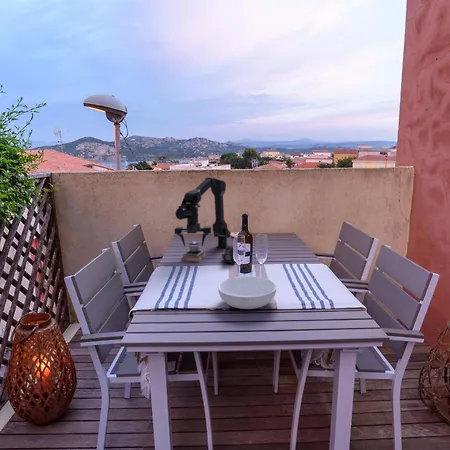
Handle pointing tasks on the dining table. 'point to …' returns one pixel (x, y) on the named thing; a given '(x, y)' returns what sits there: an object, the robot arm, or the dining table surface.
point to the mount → (193, 256)
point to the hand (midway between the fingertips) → (193, 246)
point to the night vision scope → (228, 255)
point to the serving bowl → (247, 291)
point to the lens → (193, 247)
